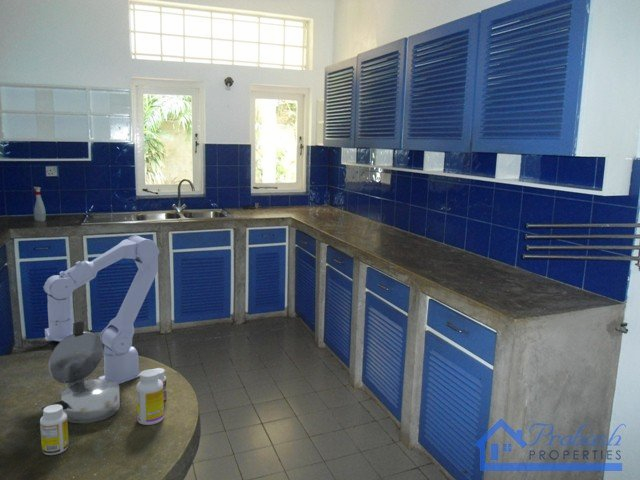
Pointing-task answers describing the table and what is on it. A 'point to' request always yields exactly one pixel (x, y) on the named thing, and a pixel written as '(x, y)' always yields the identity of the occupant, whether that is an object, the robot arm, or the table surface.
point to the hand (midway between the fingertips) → (62, 365)
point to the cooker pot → (90, 400)
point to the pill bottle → (163, 379)
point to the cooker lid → (75, 356)
